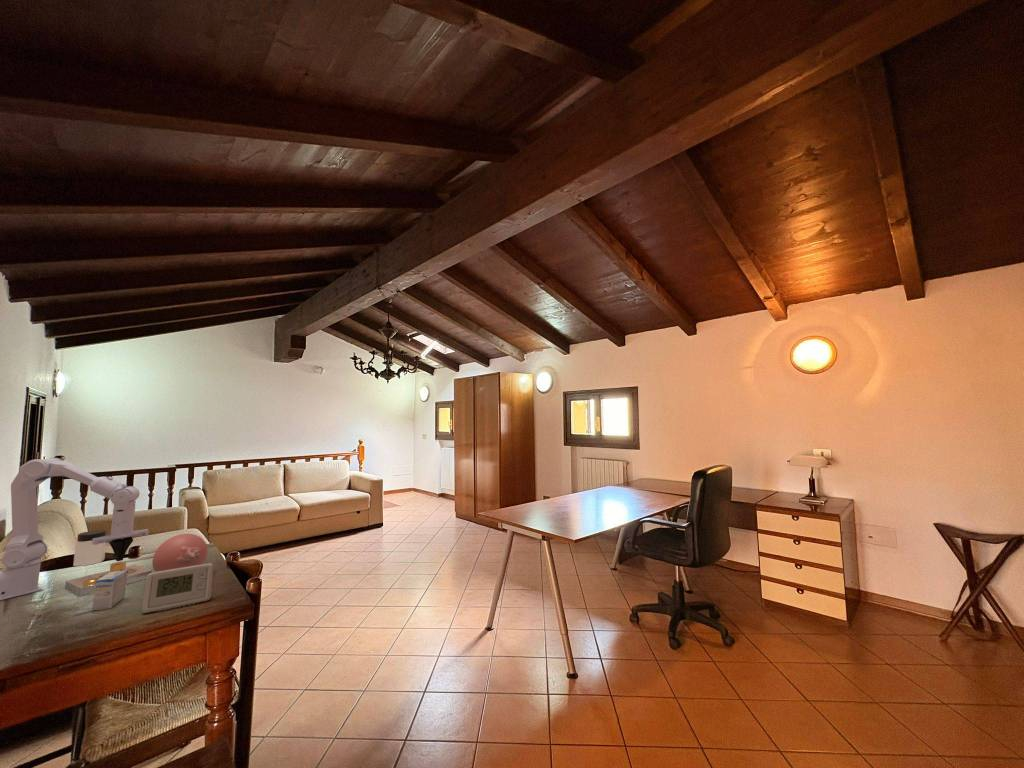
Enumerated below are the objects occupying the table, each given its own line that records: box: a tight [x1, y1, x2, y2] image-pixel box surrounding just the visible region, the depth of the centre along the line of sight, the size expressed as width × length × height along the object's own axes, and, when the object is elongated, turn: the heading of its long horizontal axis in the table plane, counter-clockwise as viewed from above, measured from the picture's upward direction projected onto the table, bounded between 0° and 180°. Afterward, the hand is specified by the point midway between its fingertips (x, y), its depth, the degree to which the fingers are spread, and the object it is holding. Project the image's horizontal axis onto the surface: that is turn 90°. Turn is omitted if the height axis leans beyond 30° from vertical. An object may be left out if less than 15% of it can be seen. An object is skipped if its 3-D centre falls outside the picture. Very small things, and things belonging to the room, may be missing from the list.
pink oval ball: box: [151, 533, 209, 572], centre depth 141 cm, size 15×20×15 cm
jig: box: [64, 564, 152, 597], centre depth 138 cm, size 18×14×4 cm
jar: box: [72, 529, 107, 567], centre depth 160 cm, size 9×8×12 cm
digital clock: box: [141, 563, 214, 614], centre depth 120 cm, size 16×9×11 cm, turn 113°
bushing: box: [109, 561, 127, 572], centre depth 140 cm, size 4×4×6 cm
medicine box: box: [91, 571, 127, 611], centre depth 121 cm, size 8×4×9 cm, turn 23°
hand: (119, 560), depth 140 cm, fingers closed
